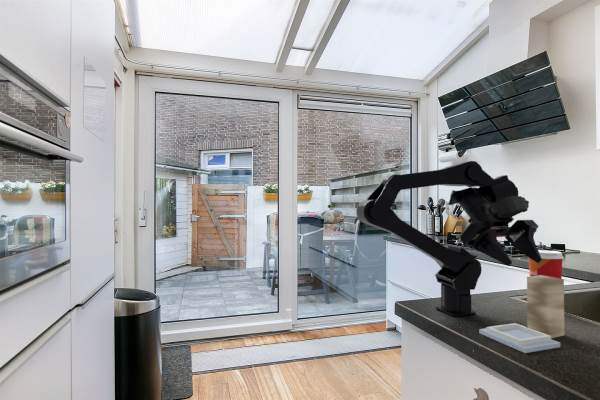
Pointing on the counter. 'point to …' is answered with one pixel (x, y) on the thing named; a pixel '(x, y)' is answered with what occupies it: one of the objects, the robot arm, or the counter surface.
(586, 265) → the counter surface
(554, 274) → the paper cup
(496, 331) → the board
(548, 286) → the birch pillar
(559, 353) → the counter surface
